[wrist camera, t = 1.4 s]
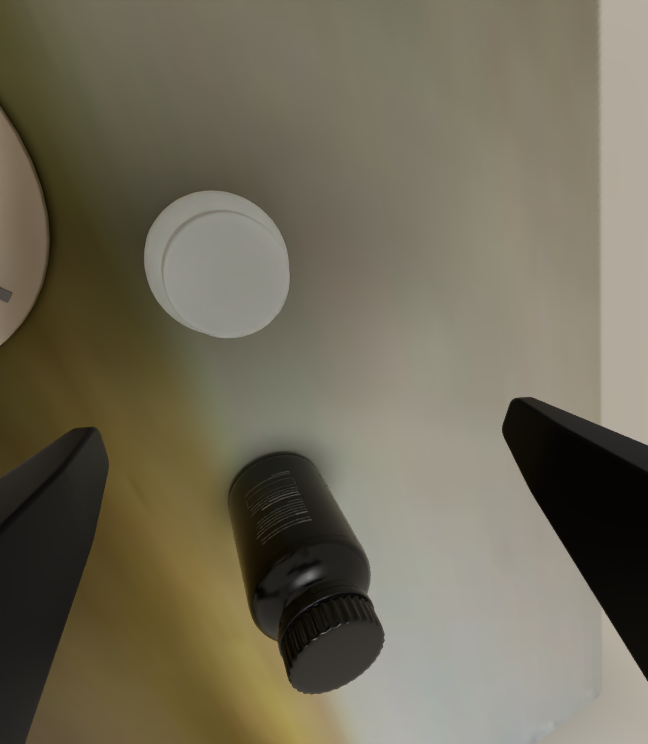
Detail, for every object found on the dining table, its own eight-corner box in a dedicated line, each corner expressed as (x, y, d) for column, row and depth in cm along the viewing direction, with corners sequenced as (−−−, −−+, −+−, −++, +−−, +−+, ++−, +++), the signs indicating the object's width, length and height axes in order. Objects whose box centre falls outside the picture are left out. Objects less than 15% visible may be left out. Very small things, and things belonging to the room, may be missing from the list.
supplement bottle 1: (270, 280, 23) (328, 326, 14) (179, 314, 22) (185, 384, 13) (235, 179, 20) (281, 164, 12) (130, 212, 19) (101, 221, 11)
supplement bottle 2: (219, 532, 28) (249, 726, 18) (236, 449, 26) (281, 613, 16) (309, 528, 31) (380, 694, 20) (331, 452, 29) (423, 593, 18)
